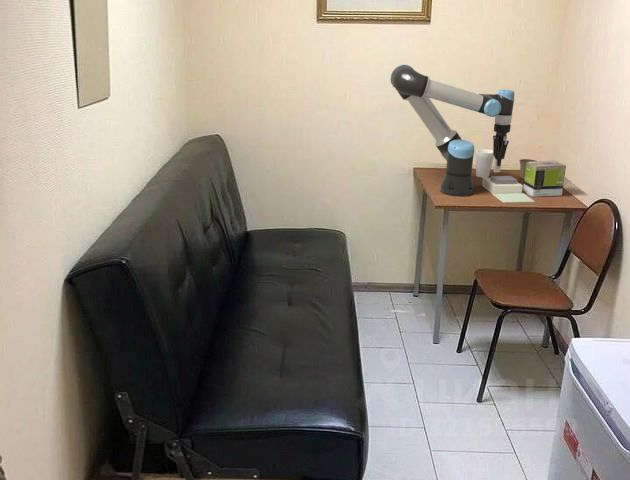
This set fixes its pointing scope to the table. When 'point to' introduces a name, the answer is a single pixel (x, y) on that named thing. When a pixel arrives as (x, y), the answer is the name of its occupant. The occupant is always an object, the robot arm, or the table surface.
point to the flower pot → (523, 166)
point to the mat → (513, 198)
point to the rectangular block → (503, 180)
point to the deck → (501, 187)
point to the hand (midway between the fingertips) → (496, 171)
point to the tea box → (544, 178)
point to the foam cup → (483, 162)
